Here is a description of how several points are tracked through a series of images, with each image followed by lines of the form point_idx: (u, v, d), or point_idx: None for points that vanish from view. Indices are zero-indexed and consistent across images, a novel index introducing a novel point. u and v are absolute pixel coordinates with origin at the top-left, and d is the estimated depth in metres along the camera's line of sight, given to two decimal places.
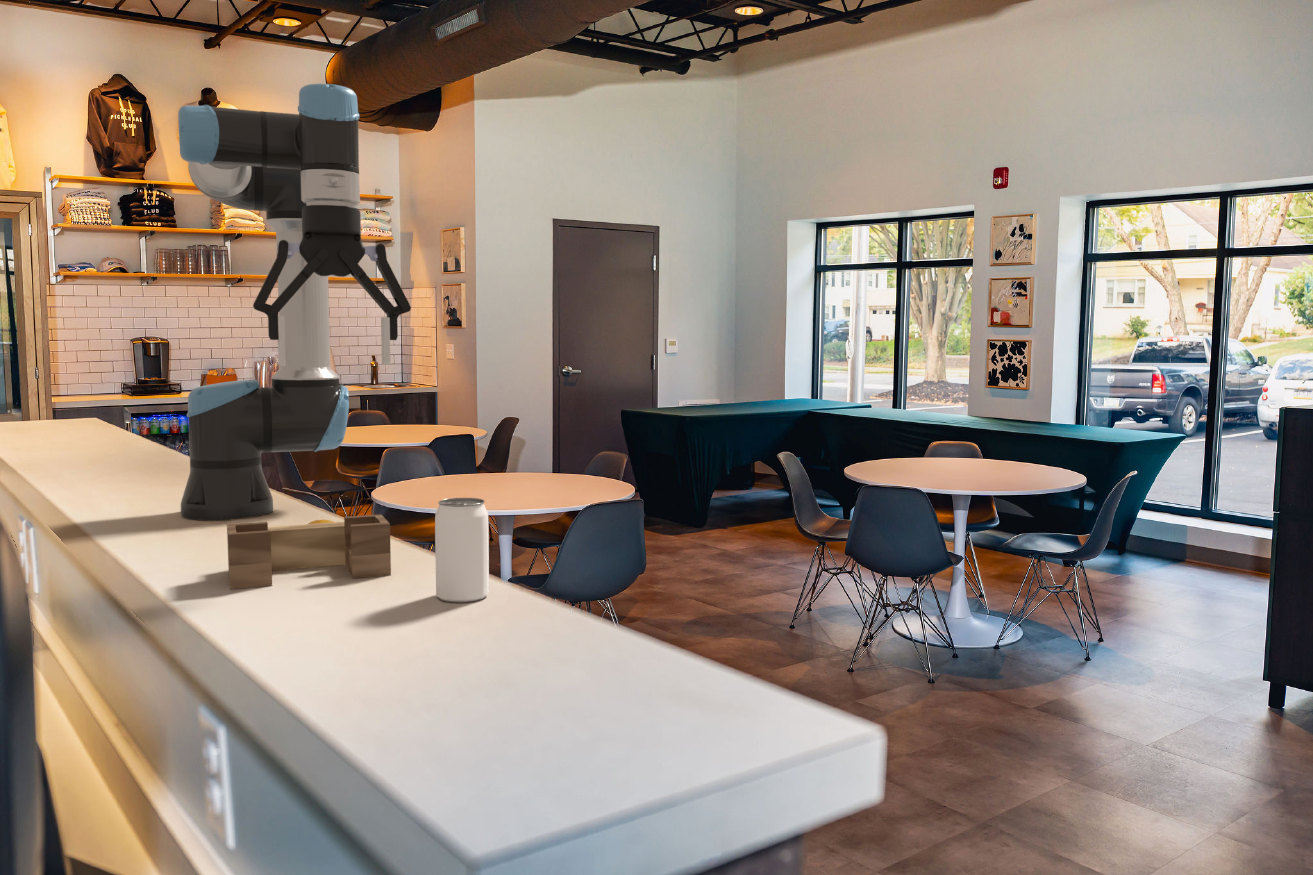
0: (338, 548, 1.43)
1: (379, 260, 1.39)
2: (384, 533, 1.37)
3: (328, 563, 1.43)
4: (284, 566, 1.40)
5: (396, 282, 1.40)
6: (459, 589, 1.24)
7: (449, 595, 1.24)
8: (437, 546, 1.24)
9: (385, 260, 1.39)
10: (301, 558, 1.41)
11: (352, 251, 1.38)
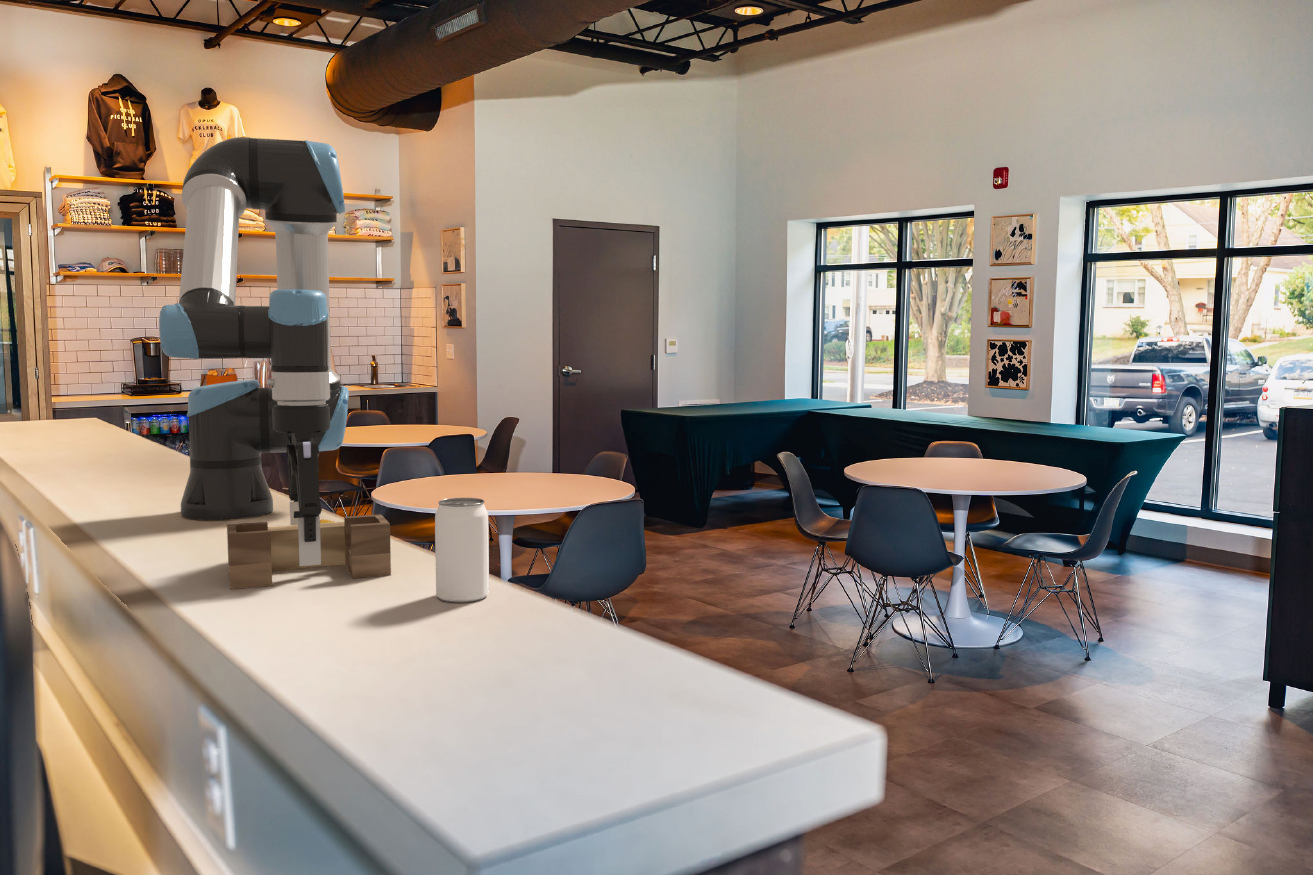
0: (338, 548, 1.43)
1: (297, 458, 1.35)
2: (384, 533, 1.37)
3: (328, 563, 1.43)
4: (284, 566, 1.40)
5: (299, 482, 1.33)
6: (459, 589, 1.24)
7: (449, 595, 1.24)
8: (437, 546, 1.24)
9: (297, 459, 1.34)
10: None
11: (295, 448, 1.38)
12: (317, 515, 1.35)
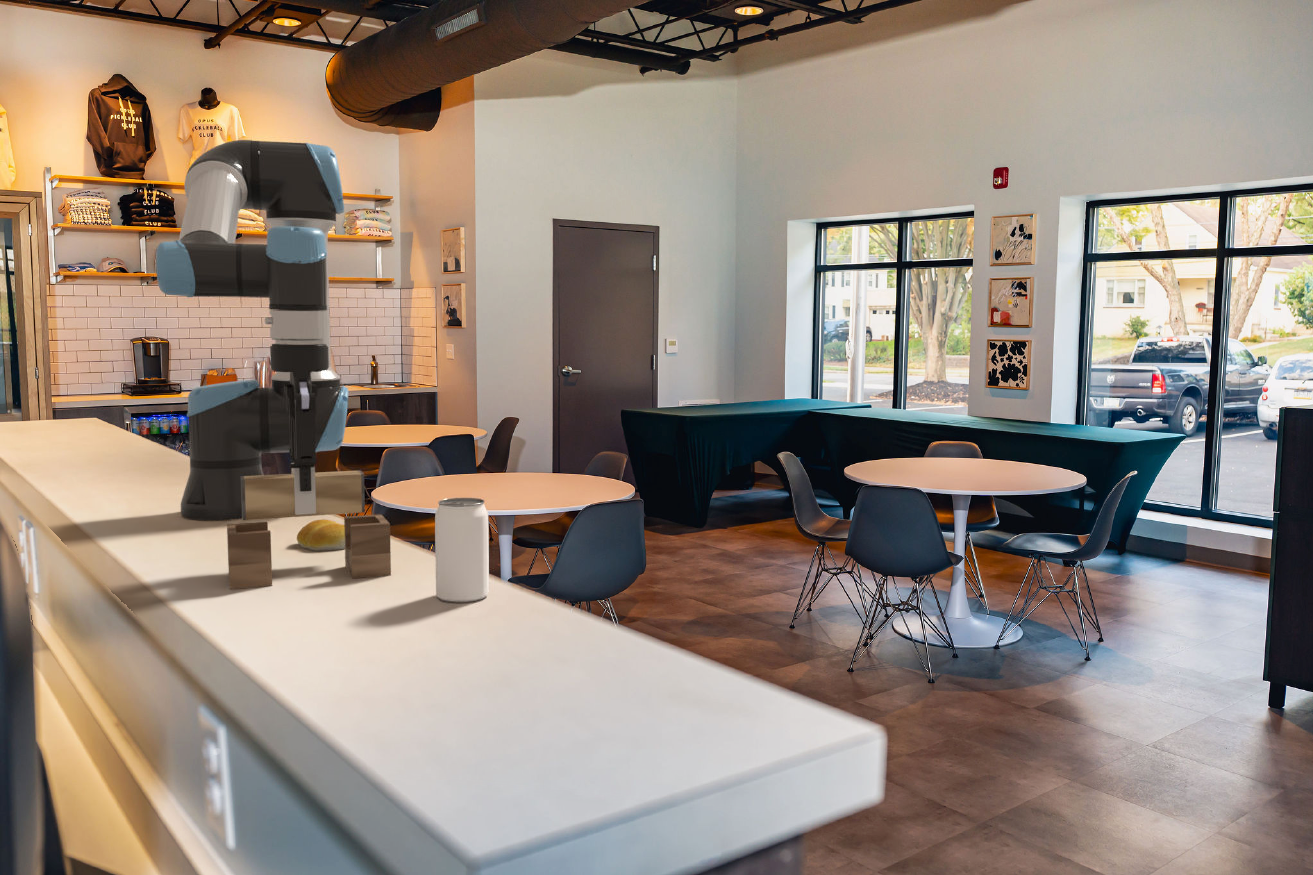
0: (337, 497, 1.43)
1: (295, 407, 1.36)
2: (384, 533, 1.37)
3: (326, 512, 1.42)
4: (282, 514, 1.40)
5: (296, 434, 1.36)
6: (459, 589, 1.24)
7: (449, 595, 1.24)
8: (437, 546, 1.24)
9: (295, 410, 1.35)
10: None
11: (293, 385, 1.38)
12: (312, 466, 1.39)
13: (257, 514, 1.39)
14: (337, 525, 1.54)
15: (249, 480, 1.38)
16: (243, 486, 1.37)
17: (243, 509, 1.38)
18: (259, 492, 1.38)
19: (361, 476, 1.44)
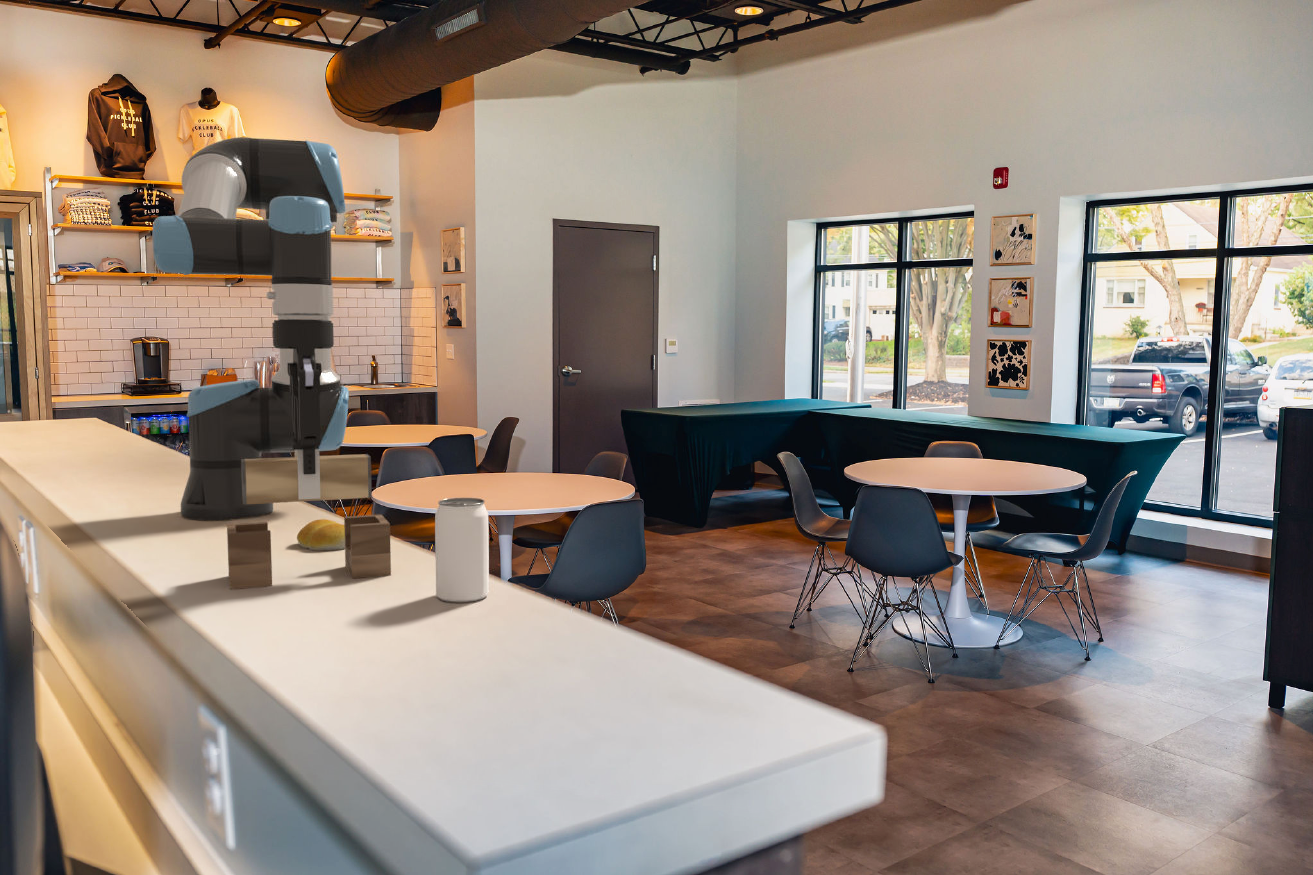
0: (342, 481, 1.36)
1: (298, 384, 1.29)
2: (384, 533, 1.37)
3: (331, 497, 1.35)
4: (285, 498, 1.33)
5: (299, 413, 1.29)
6: (459, 589, 1.24)
7: (449, 595, 1.24)
8: (437, 546, 1.24)
9: (299, 387, 1.29)
10: None
11: (296, 362, 1.31)
12: (316, 448, 1.33)
13: (258, 498, 1.32)
14: (337, 525, 1.54)
15: (250, 462, 1.31)
16: (244, 468, 1.31)
17: (244, 493, 1.31)
18: (261, 475, 1.32)
19: (367, 459, 1.37)
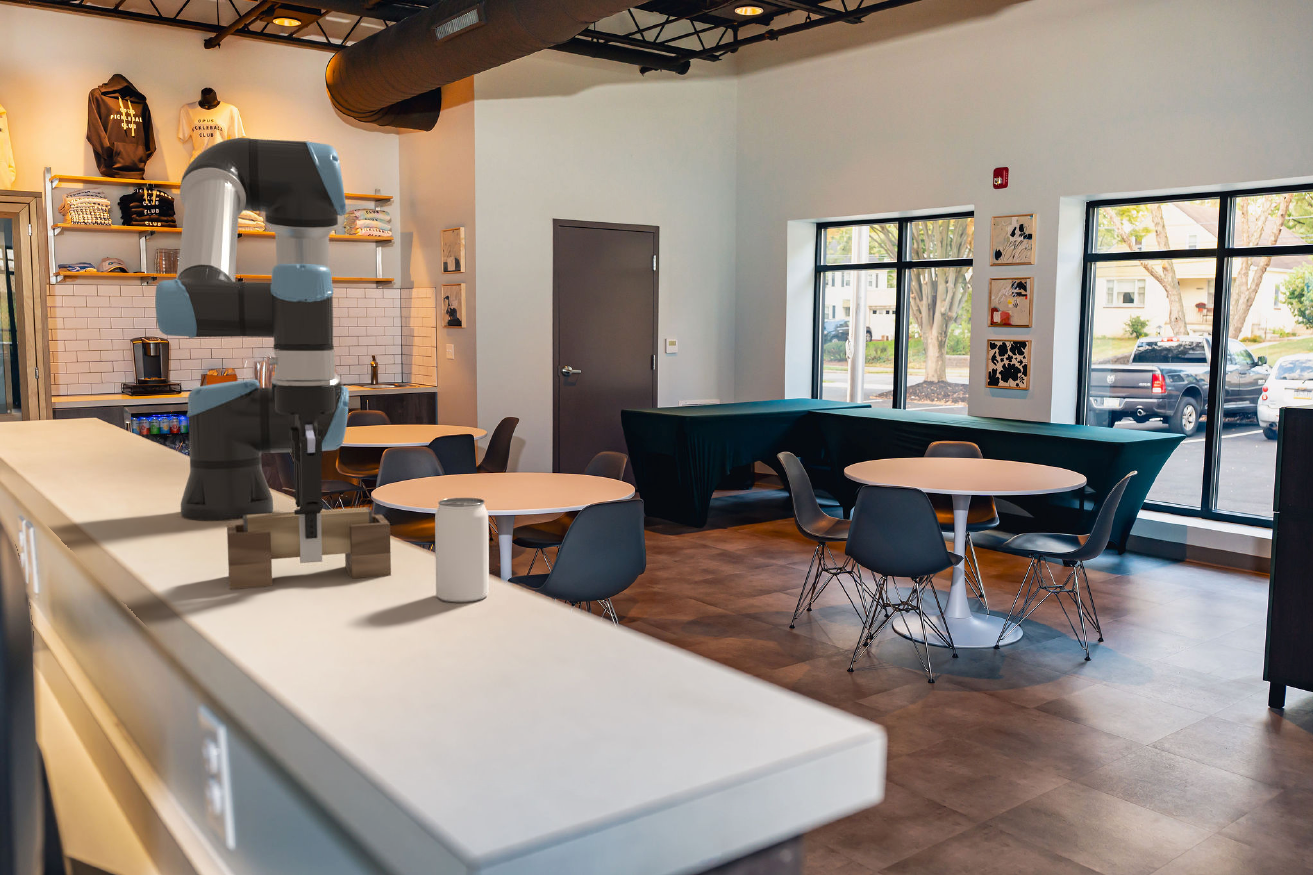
0: (343, 535, 1.37)
1: (300, 451, 1.30)
2: (384, 533, 1.37)
3: (333, 551, 1.36)
4: (287, 554, 1.34)
5: (301, 479, 1.30)
6: (459, 589, 1.24)
7: (449, 595, 1.24)
8: (437, 546, 1.24)
9: (301, 454, 1.29)
10: None
11: (298, 427, 1.32)
12: (318, 512, 1.33)
13: None
14: None
15: (252, 519, 1.32)
16: (246, 525, 1.31)
17: None
18: None
19: (368, 513, 1.38)
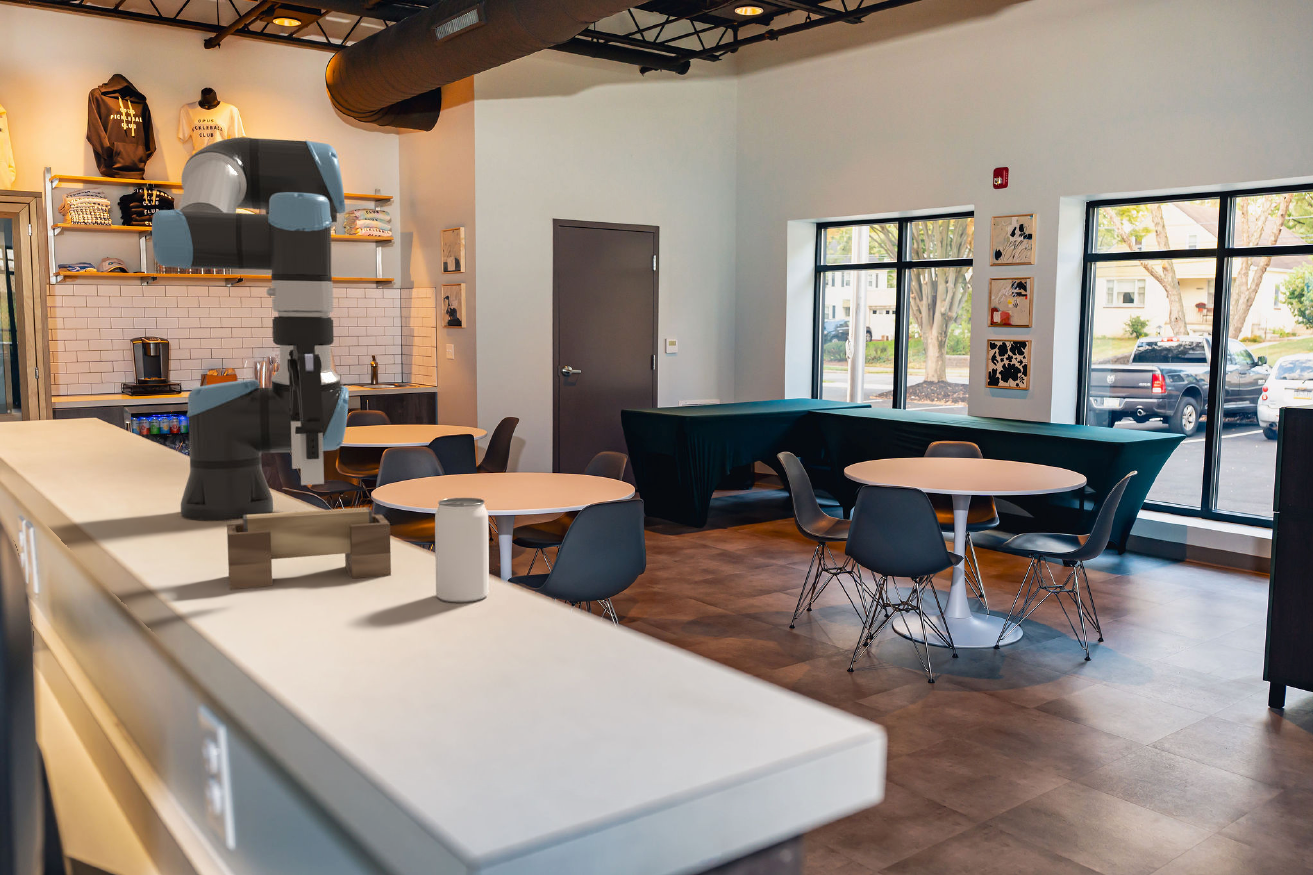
0: (343, 535, 1.37)
1: None
2: (384, 533, 1.37)
3: (333, 551, 1.36)
4: (287, 554, 1.34)
5: (301, 396, 1.27)
6: (459, 589, 1.24)
7: (449, 595, 1.24)
8: (437, 546, 1.24)
9: (299, 372, 1.27)
10: (305, 546, 1.35)
11: (296, 361, 1.31)
12: (320, 431, 1.28)
13: None
14: None
15: (252, 519, 1.32)
16: (246, 525, 1.31)
17: None
18: None
19: (368, 513, 1.38)
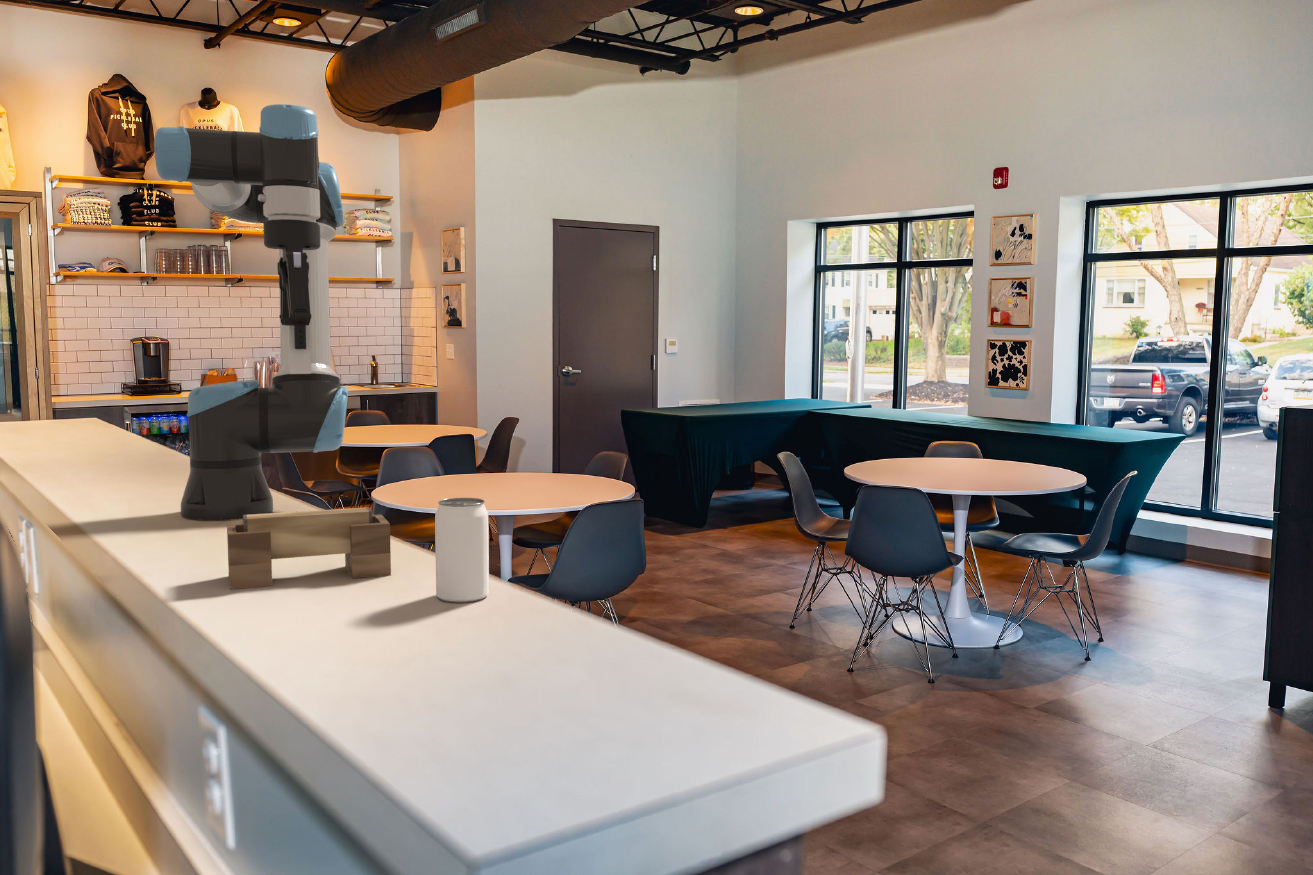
0: (343, 535, 1.37)
1: None
2: (384, 533, 1.37)
3: (333, 551, 1.36)
4: (287, 554, 1.34)
5: (289, 290, 1.37)
6: (459, 589, 1.24)
7: (449, 595, 1.24)
8: (437, 546, 1.24)
9: (288, 268, 1.38)
10: (305, 546, 1.35)
11: (286, 262, 1.42)
12: (307, 323, 1.38)
13: None
14: None
15: (252, 519, 1.32)
16: (246, 525, 1.31)
17: None
18: None
19: (368, 513, 1.38)
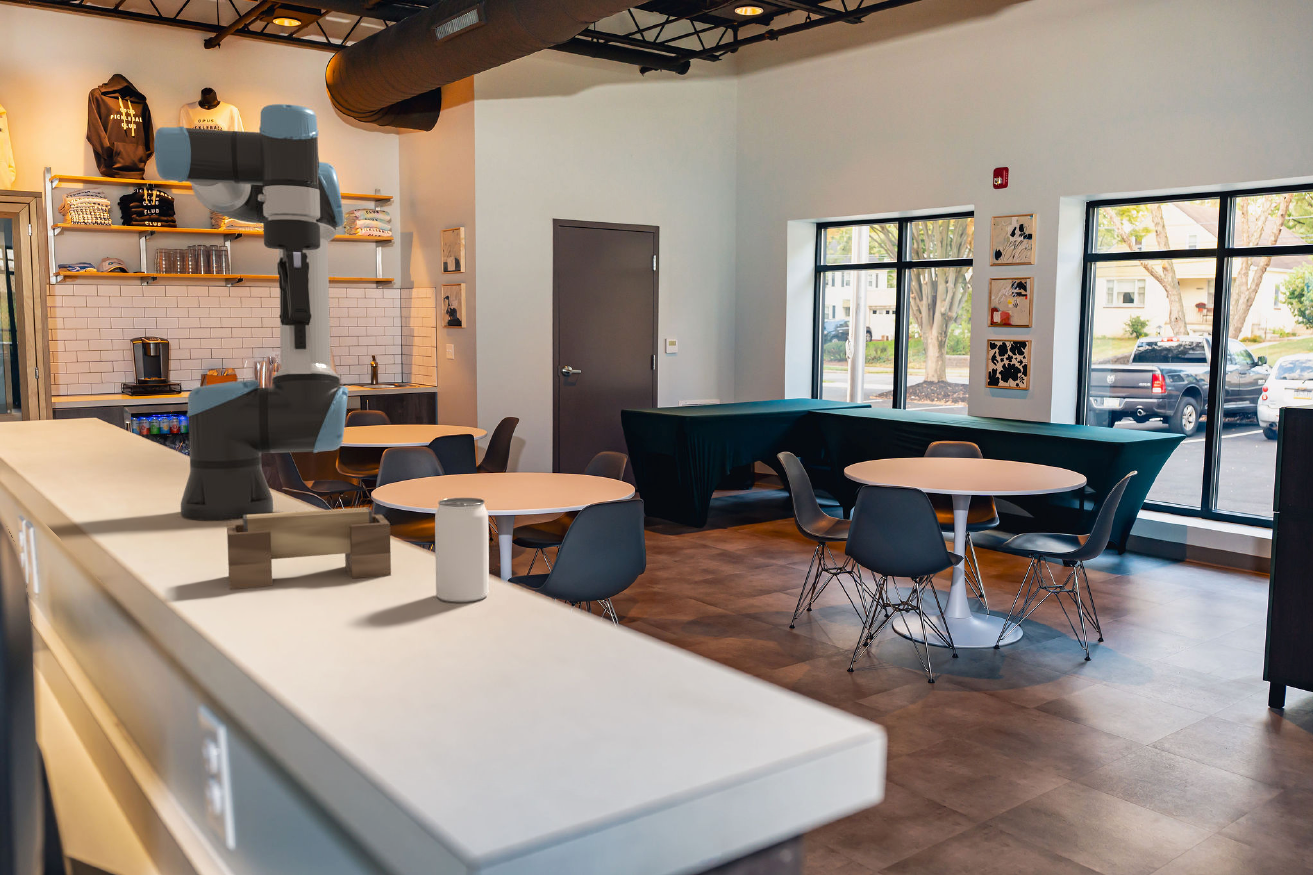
0: (343, 535, 1.37)
1: None
2: (384, 533, 1.37)
3: (333, 551, 1.36)
4: (287, 554, 1.34)
5: (289, 289, 1.37)
6: (459, 589, 1.24)
7: (449, 595, 1.24)
8: (437, 546, 1.24)
9: (288, 268, 1.38)
10: (305, 546, 1.35)
11: (286, 262, 1.42)
12: (307, 323, 1.38)
13: None
14: None
15: (252, 519, 1.32)
16: (246, 525, 1.31)
17: None
18: None
19: (368, 513, 1.38)
